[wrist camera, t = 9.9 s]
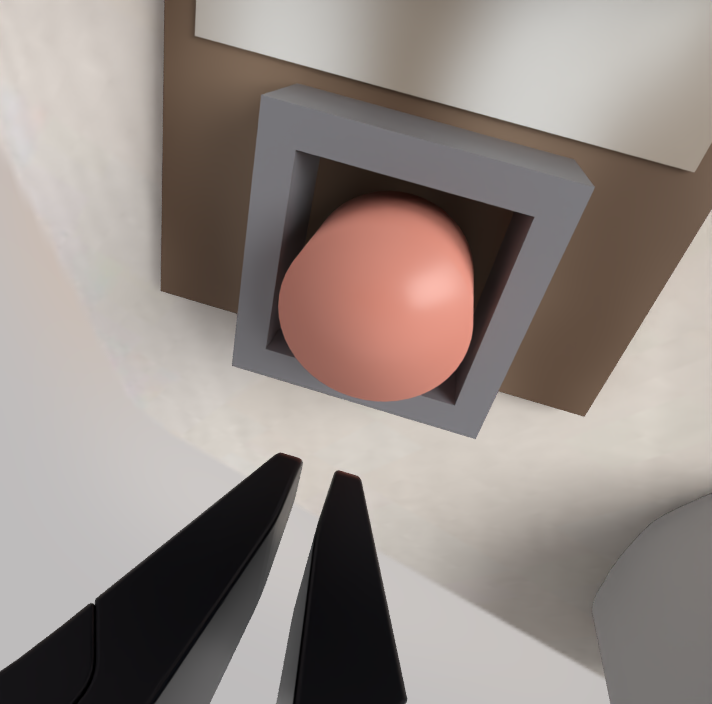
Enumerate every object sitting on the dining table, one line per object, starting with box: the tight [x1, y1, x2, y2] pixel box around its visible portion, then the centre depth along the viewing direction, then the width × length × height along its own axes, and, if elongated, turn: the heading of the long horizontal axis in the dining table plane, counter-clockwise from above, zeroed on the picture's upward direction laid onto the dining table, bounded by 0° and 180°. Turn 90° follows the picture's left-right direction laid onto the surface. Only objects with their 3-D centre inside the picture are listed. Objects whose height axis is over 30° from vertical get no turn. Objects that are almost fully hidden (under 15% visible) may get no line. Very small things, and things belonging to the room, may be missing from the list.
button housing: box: [232, 83, 595, 439], centre depth 16 cm, size 8×8×3 cm
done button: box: [278, 191, 474, 402], centre depth 14 cm, size 5×5×3 cm
